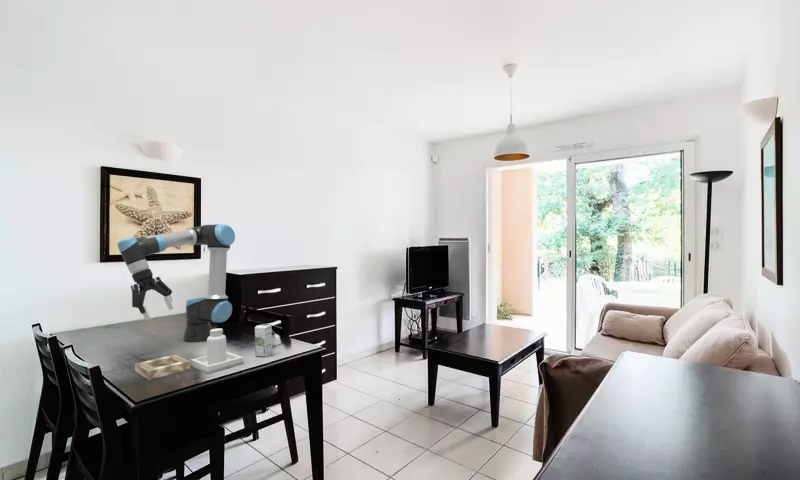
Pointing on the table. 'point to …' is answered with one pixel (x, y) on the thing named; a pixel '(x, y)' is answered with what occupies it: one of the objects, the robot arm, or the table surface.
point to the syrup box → (263, 340)
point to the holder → (162, 366)
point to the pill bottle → (216, 347)
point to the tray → (205, 367)
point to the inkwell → (275, 339)
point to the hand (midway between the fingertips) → (160, 314)
